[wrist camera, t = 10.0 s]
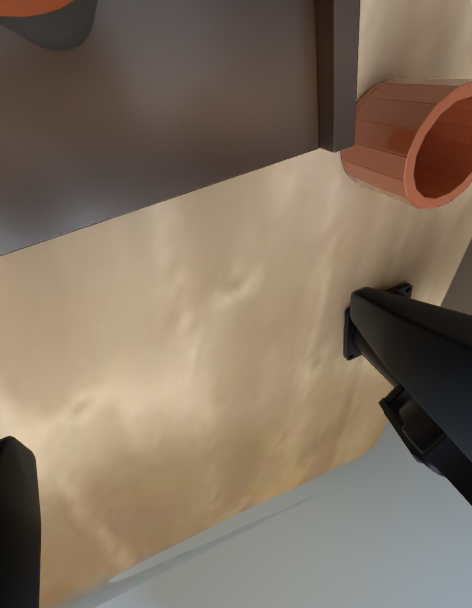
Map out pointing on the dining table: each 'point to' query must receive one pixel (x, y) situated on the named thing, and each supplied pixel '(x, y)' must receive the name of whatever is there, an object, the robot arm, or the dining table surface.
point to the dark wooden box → (167, 105)
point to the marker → (50, 21)
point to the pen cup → (414, 140)
